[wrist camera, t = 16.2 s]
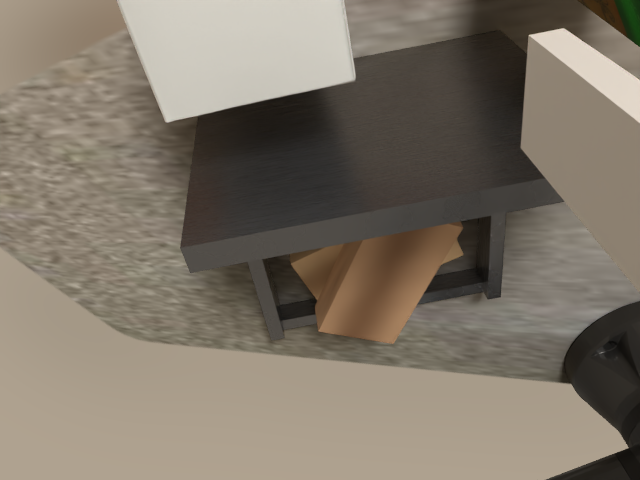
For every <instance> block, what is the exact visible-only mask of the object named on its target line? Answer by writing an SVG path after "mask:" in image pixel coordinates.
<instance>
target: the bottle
mask: <svg viewBox="0 0 640 480" xmlns="http://www.w3.org/2000/svg"><path fill="white" fill-rule="evenodd" d="M578 1H579V2H581V3H582V4H583V5H585V6H586V7H587V8H589V9H590V10H591V11H593V12H594V13H595V14H597V15H598V16H599V17H601V18H602V19H603V20H605V21H606V22H607V23H609V24H610V25H611V26H612V27H614V28H615V29H616V30H618V31H619V32H620V33H622V34H623V35H624V36H626V37H627V38H628V39H630V40H631V41H632V42H634V43H635V44H636V45H638V46H639V47H640V0H578Z"/></svg>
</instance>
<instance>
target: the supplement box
mask: <svg viewBox="0 0 640 480" xmlns="http://www.w3.org/2000/svg"><path fill="white" fill-rule="evenodd" d="M116 1H117V3H118V6H119V8H120V11H121V13H122V16H123V18H124V21H125V23H126V26H127V28H128V31H129V33H130V36H131V38H132V41H133V43H134V46H135V48H136V51H137V53H138V56H139V58H140V61H141V63H142V66H143V68H144V71H145V73H146V76H147V78H148V81H149V83H150V86H151V88H152V91H153V93H154V96H155V98H156V100H157V103H158V105H159V108H160V110H161V113H162V115H163V117H164V120H165V122H166V123H169V122H172V121H176V120H180V119H185V118H190V117H195V116H199V115H203V114H208V113H212V112H215V111H221V110H224V109H229V108H233V107H237V106H242V105H246V104H251V103H255V102H259V101H264V100H269V99H274V98H278V97H283V96H287V95H292V94H297V93H302V92H307V91H311V90H316V89H321V88H326V87H331V86H336V85H341V84H345V83H350V82H354V81H355V79H356V74H355V67H354V61H353V54H352V48H351V42H350V36H349V29H348V23H347V17H346V10H345V4H344V0H116Z"/></svg>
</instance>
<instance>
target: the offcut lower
mask: <svg viewBox="0 0 640 480" xmlns="http://www.w3.org/2000/svg"><path fill="white" fill-rule="evenodd" d="M343 245H344V244H339V245H334V246H329V247H324V248H318V249H313V250H308V251H303V252H297V253H292V254H289V255H290V264H291V265H292V267H293V268H294V269H295V271H296V272H297V273H298V275H299V276H300V278H301V279H302V280H303V282H304V283H305V284H306V286H307V287H308V289H309V290H310V291H311V293H312V294H313V295H314V297H315V298H316V300H318V298H319V296H320V294H321V292H322V290H323V288H324V285H325V283H326V281H327V279H328V277H329V275H330V272H331V270H332V268H333V266H334V264H335V262H336V260H337V257H338V255H339V253H340V251H341V249H342V247H343ZM462 255H463V252H462V250H461V248H460V246H459V243H458V241H457V239H456V241H455V242H454V244H453V246H452V247H451V249H450V251H449V252H448V254H447V256H446V257H445V259H444V260H443V262H442V264H444V263H446V262H449V261H451V260H453V259H456V258H458V257H460V256H462ZM442 264H441V265H442Z"/></svg>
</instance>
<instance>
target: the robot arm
mask: <svg viewBox="0 0 640 480" xmlns="http://www.w3.org/2000/svg"><path fill="white" fill-rule="evenodd" d="M521 149H522V150H523V151H524V153H525V154H526V155H527V156H528V158H529V159H530V160H531V161H532V162H533V164H534V165H535V166H536V167H537V168H538V170H539V171H540V172H541V173H542V175H543V176H544V177H545V178H546V179H547V181H548V182H549V183H550V184H551V186H552V187H553V188H554V189H555V190H556V192H557V193H558V194H559V195H560V196H561V198H562V199H563V200H564V201H565V203H566V204H567V205H568V206H569V207H570V209H571V210H572V211H573V212H574V214H575V215H576V216H577V217H578V218H579V220H580V221H581V222H582V223H583V225H584V226H585V227H586V228H587V229H588V231H589V232H590V233H591V234H592V235H593V237H594V238H595V239H596V240H597V242H598V243H599V244H600V245H601V246H602V248H603V249H604V250H605V251H606V253H607V254H608V255H609V256H610V257H611V259H612V260H613V261H614V262H615V263H616V265H617V266H618V267H619V268H620V270H621V271H622V272H623V273H624V274H625V276H626V277H627V278H628V279H629V281H630V282H631V283H632V284H633V285H634V287H635V288H636V289H637V290H638V292H639V293H640V80H639V79H637V78H636V77H635V76H633V75H632V74H630V73H629V72H627V71H626V70H624V69H623V68H621V67H620V66H618V65H617V64H616V63H614V62H613V61H611V60H610V59H608V58H607V57H605V56H604V55H602V54H601V53H599V52H598V51H597V50H595V49H594V48H592V47H591V46H589V45H588V44H586V43H585V42H583V41H582V40H580V39H579V38H578V37H576V36H575V35H573V34H572V33H570V32H569V31H567V30H566V29H564V28H562V29H557V30H552V31H547V32H542V33H537V34H532V35H529V37H528V51H527V64H526V78H525V92H524V106H523V120H522V134H521ZM565 372H566V375H567V377H568V379H569V380H570V382H571V384H572V386H573V387H574V389H575V391H576V392H577V393H578V395H579V396H580V397H581V398H582V399H583V400H584V401H586V402H587V403H588V404H589V405H590V406H591V407H592V408H593V409H594V410H595V411H597V412H598V413H599V414H600V415H601V416H602V417H603V418H605V419H606V420H607V421H608V422H609V423H610V424H611V425H612V426H614V427H615V428H616V429H617V430H618V431H619V432H620V434H621V435H622V437H623V439H624V440H625V442H626V444H627V445H628V447H629V448H628V449H625V450H623V451H620V452H617V453H615V454H612V455H609V456H607V457H604V458H602V459H599V460H596V461H594V462H591V463H588V464H586V465H583V466H581V467H578V468H575V469H573V470H570V471H567V472H565V473H562V474H560V475H557V476H554V477H552V478H549V479H547V480H640V302H636V303H633V304H630V305H627V306H624V307H622V308H619V309H617V310H615V311H613V312H611V313H609V314H607V315H606V316H604V317H602V318H601V319H599V320H598V321H596V322H595V323H593V324H592V325H591V326H590V327H588V328H587V329H586V330H585V331H584V332H583V333H582V334H581V335H580V336H579V337H578V338H577V339H576V341H575V342H574V343H573V345H572V346H571V348H570V350H569V352H568V354H567V357H566V360H565Z"/></svg>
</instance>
